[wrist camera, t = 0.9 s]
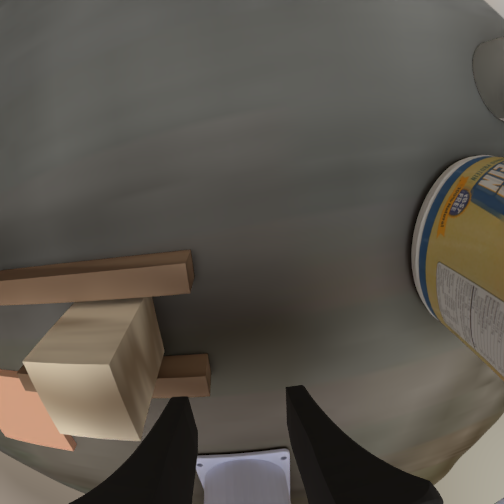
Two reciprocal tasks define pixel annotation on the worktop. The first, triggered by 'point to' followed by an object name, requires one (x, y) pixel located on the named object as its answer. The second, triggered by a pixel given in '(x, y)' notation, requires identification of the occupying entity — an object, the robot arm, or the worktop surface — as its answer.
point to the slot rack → (116, 287)
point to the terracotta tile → (27, 415)
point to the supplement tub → (465, 255)
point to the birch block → (99, 368)
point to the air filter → (490, 75)
